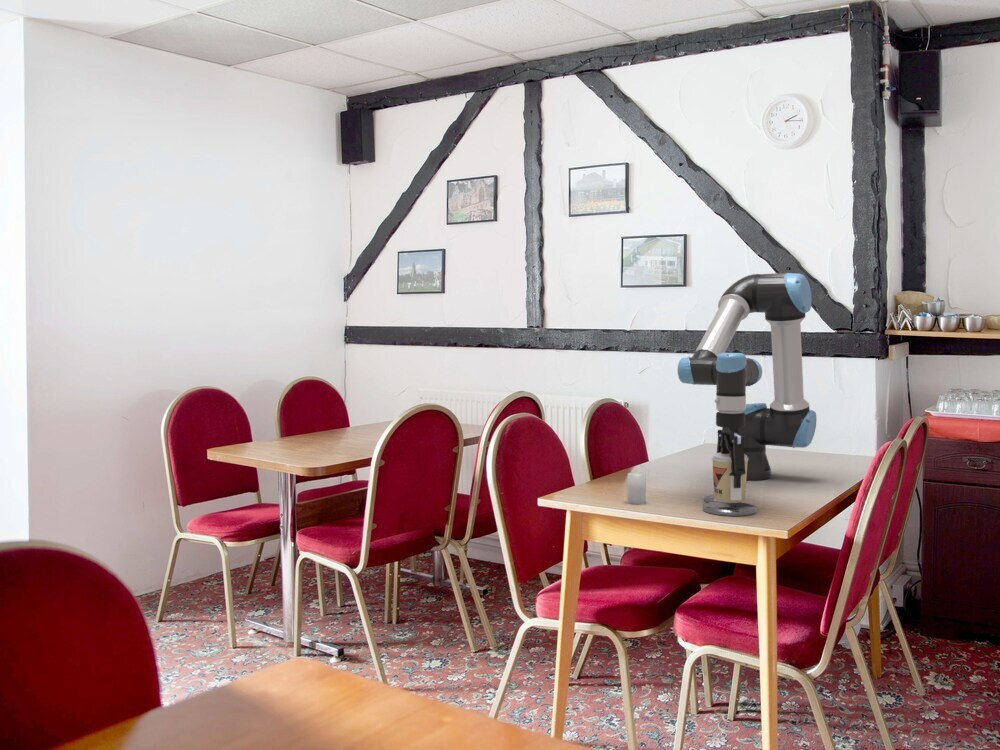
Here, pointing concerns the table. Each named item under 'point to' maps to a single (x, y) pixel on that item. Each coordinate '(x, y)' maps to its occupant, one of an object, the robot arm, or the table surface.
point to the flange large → (729, 509)
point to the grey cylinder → (636, 488)
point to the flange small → (709, 498)
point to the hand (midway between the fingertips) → (729, 496)
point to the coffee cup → (725, 478)
